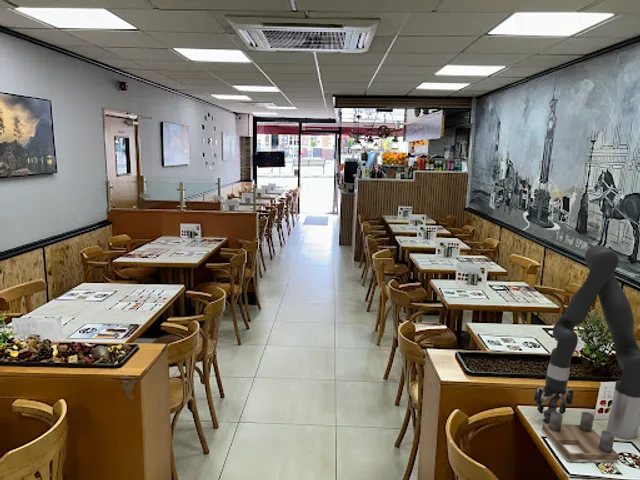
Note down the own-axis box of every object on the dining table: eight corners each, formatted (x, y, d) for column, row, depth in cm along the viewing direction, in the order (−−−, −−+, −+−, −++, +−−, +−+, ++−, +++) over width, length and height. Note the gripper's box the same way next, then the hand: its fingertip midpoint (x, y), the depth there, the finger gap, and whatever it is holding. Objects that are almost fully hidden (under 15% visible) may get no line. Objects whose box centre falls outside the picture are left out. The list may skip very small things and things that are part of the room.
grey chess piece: (554, 418, 195) (559, 391, 193) (560, 427, 189) (565, 399, 187) (539, 417, 196) (544, 390, 193) (544, 425, 190) (549, 397, 187)
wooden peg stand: (586, 431, 187) (590, 410, 186) (617, 462, 170) (622, 439, 168) (541, 431, 186) (545, 409, 184) (567, 462, 169) (571, 438, 167)
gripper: (570, 371, 193) (563, 408, 196) (535, 369, 192) (528, 407, 195) (580, 380, 185) (573, 418, 189) (544, 379, 184) (537, 417, 188)
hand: (550, 412), depth 192 cm, fingers open, 8 cm apart
